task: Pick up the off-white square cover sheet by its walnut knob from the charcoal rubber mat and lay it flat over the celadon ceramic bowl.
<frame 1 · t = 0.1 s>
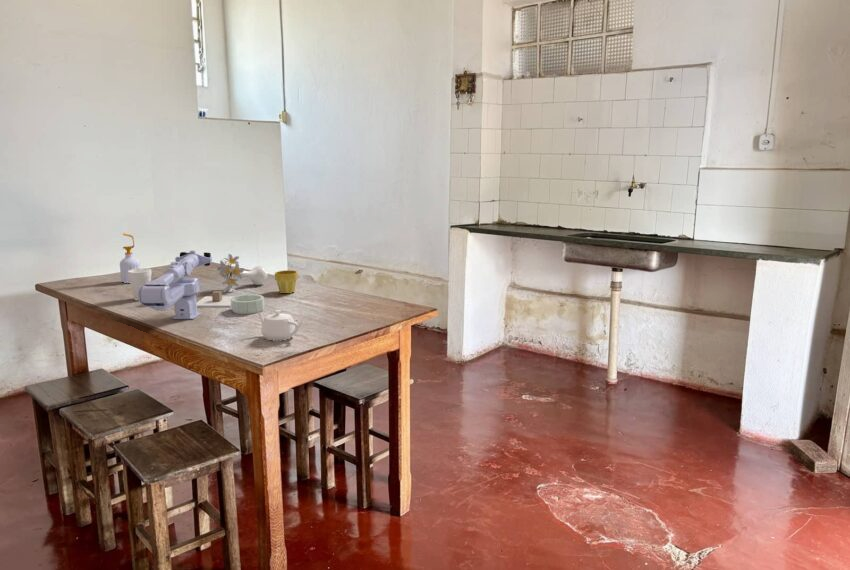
hand: (200, 254, 264), 22 cm above the table, tool horizontal, fingers open, 7 cm apart
food container: (174, 300, 275), on the table
teapot: (278, 337, 223), on the table
flower vase: (243, 288, 299), on the table
cover sheet: (217, 302, 270), resting on mat
foam cup: (142, 299, 277), on the table
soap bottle: (131, 282, 311), on the table
plant pot: (287, 293, 290), on the table
bowl: (248, 310, 258), on the table
mat: (217, 303, 270), on the table
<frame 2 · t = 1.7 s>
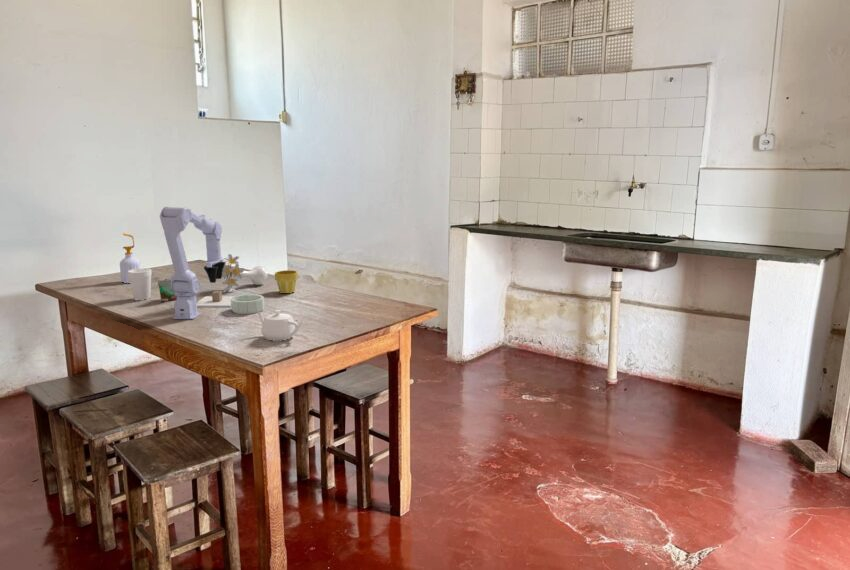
hand: (215, 280, 268), 10 cm above the table, tool pointing down, fingers open, 7 cm apart
nothing on the table moved.
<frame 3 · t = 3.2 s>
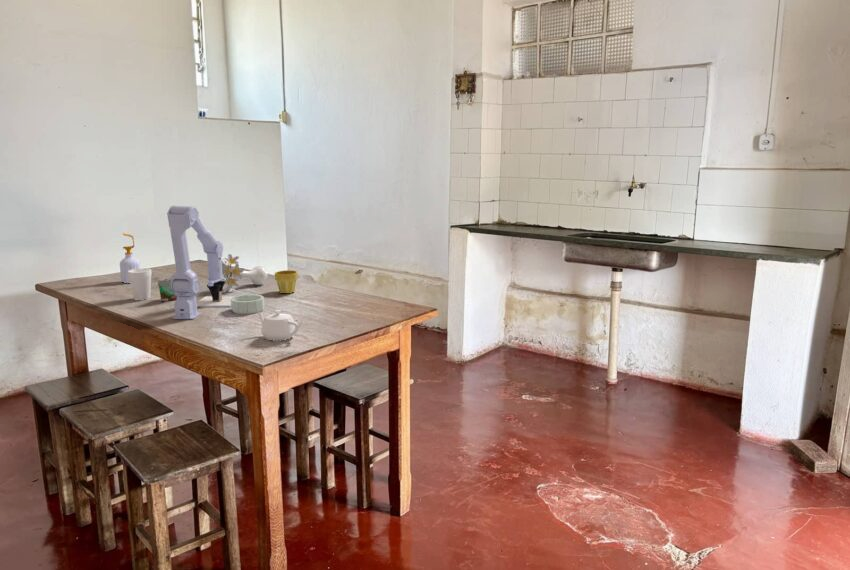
hand: (217, 298, 270), 2 cm above the table, tool pointing down, fingers closed on cover sheet, 3 cm apart
cover sheet: (217, 302, 270), resting on mat, touching gripper
everything else where it was.
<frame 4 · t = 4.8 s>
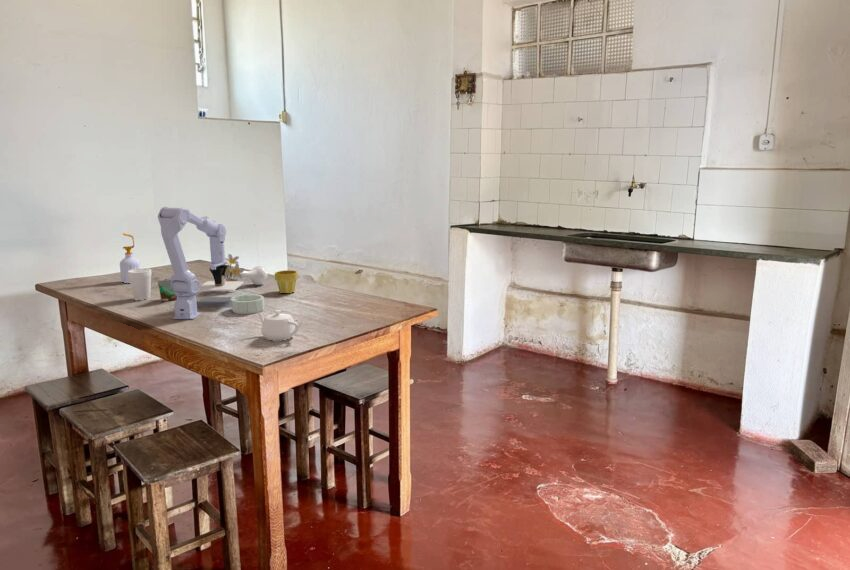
hand: (219, 283, 267), 9 cm above the table, tool pointing down, fingers closed on cover sheet, 3 cm apart
cover sheet: (219, 286, 267), point 8 cm above the table, touching gripper
everything else where it was.
when the fingers open (8 cm above the table, at t = 6.5 s): cover sheet stays where it is, resting on bowl.
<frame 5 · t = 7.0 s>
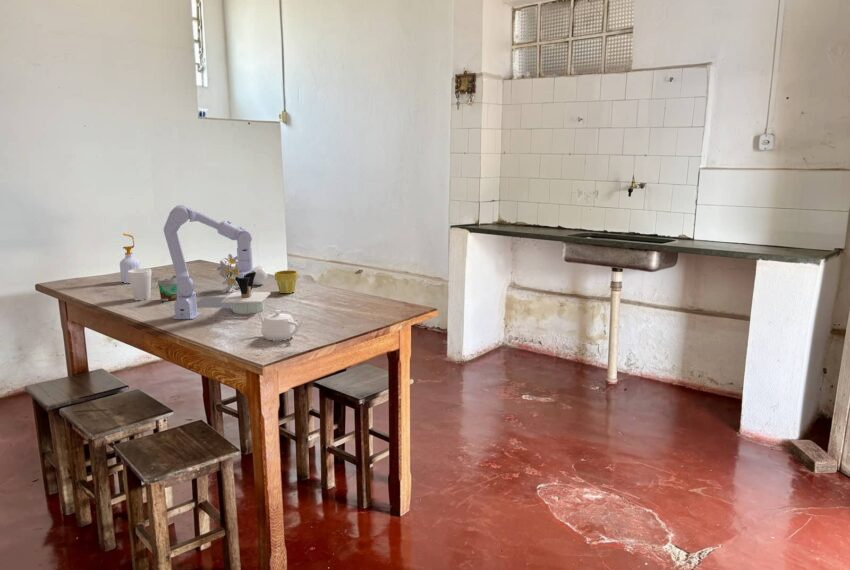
hand: (246, 291, 256), 8 cm above the table, tool pointing down, fingers open, 7 cm apart
cover sheet: (246, 298, 256), point 5 cm above the table, touching bowl
everything else where it was.
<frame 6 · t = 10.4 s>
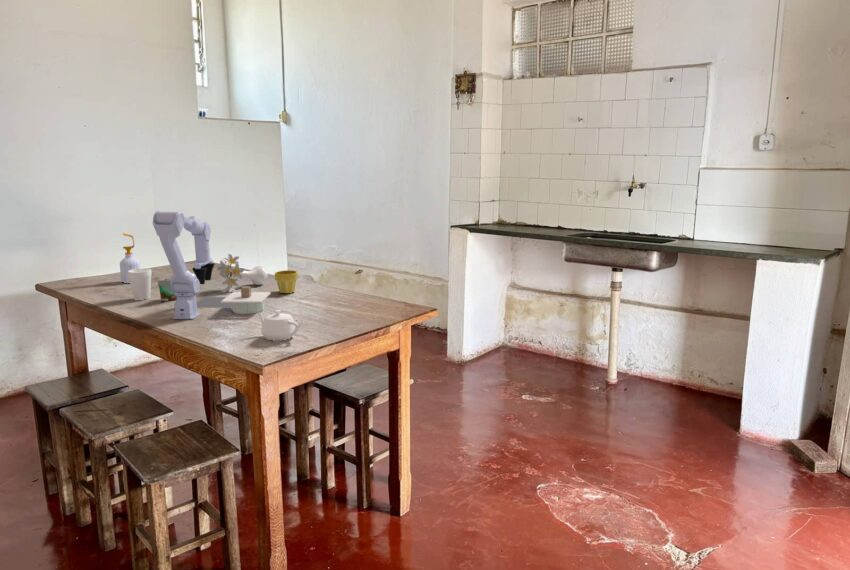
hand: (204, 282, 263), 10 cm above the table, tool pointing down, fingers open, 7 cm apart
nothing on the table moved.
at the end: cover sheet 0.3 cm off-centre on the bowl, point 5.5 cm above the bowl's base; cover sheet tilted 0°; the gripper is holding nothing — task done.
